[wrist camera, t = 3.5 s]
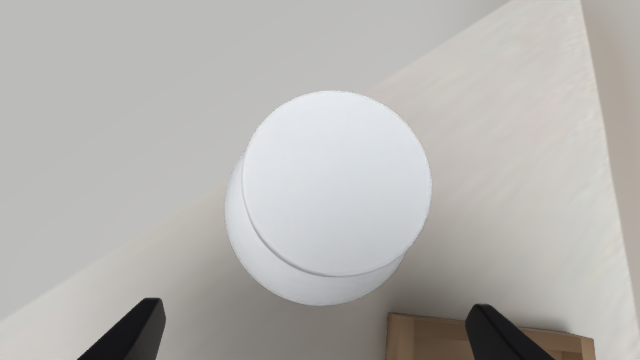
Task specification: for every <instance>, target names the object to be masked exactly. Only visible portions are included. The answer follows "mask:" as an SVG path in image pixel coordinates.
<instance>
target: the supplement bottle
mask: <svg viewBox="0 0 640 360" xmlns="http://www.w3.org/2000/svg"><path fill="white" fill-rule="evenodd" d="M431 194H432V181H431V172H430V167H429V163H428V160H427V157H426V154H425V151H424V149H423V147H422V145H421V143H420V141H419V140H418V138H417V137H416V135H415V134H414V132H413V131H412V130H411V128H410V127H409V126H408V125H407V124H406V123H405V121H404V120H403V119H402V118H401V117H399V116H398V115H397V114H396V113H395V112H393V111H392V110H391V109H389V108H388V107H386V106H385V105H383V104H381V103H380V102H378V101H376V100H374V99H371V98H369V97H366V96H364V95H360V94H357V93H352V92H345V91H319V92H313V93H308V94H305V95H302V96H299V97H297V98H294V99H292V100H290V101H288V102H286V103H284V104H283V105H281V106H280V107H278V108H277V109H276V110H274V111H273V112H272V113H271V114H270V115H269V116H268V117H267V118H266V119H265V120H264V121H263V122H262V123H261V124H260V126H259V127H258V128H257V130H256V131H255V133H254V135H253V137H252V138H251V140H250V143H249V145H248V147H247V149H246V150H245V151H244V153H243V154H242V155H241V157H240V158H239V160H238V161H237V163H236V165H235V167H234V169H233V171H232V173H231V176H230V178H229V181H228V184H227V188H226V195H225V204H224V213H225V223H226V229H227V233H228V237H229V240H230V243H231V245H232V248H233V250H234V252H235V254H236V256H237V257H238V259H239V261H240V262H241V264H242V265H243V266H244V268H245V269H246V270H247V271H248V273H249V274H250V275H251V276H252V277H253V278H254V279H255V280H256V281H257V282H258V283H259V284H261V285H262V286H263V287H265V288H266V289H268V290H269V291H271V292H272V293H274V294H276V295H278V296H280V297H282V298H284V299H287V300H290V301H293V302H296V303H300V304H305V305H312V306H327V305H337V304H342V303H346V302H350V301H353V300H355V299H358V298H360V297H362V296H364V295H366V294H368V293H370V292H371V291H373V290H375V289H376V288H377V287H379V286H380V285H381V284H382V283H384V282H385V281H386V280H387V279H388V278H389V277H390V276H391V275H392V274H393V273H394V271H395V270H396V269H397V267H398V266H399V264H400V263H401V261H402V259H403V257H404V255H405V253H406V251H407V249H408V248H409V247H410V246H411V245H412V244H413V243H414V241H415V240H416V239H417V237H418V236H419V234H420V232H421V230H422V228H423V226H424V224H425V221H426V219H427V216H428V212H429V208H430V203H431Z"/></svg>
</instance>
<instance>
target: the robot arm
mask: <svg viewBox="0 0 640 360" xmlns="http://www.w3.org/2000/svg"><path fill="white" fill-rule="evenodd" d="M165 322H166V316H165V311H164V307H163V302H162V300H161V299H160V298H145V299H143V300H142V301H140V302H139V303H138V304H137V305H136V306H135V307H134V308H133V309H132V310H131V311H129V312H128V313H127V314H126V315H125V316H124V317H123V318H122V319H121V320H120V321H119V322H117V323H116V324H115V325H114V326H113V327H112V328H111V329H110V330H109V331H108V332H107V333H105V334H104V335H103V336H102V337H101V338H100V339H99V340H98V341H97V342H96V343H95V344H93V345H92V346H91V347H90V348H89V349H88V350H87V351H86V352H85V353H84V354H83V355H81V356H80V357H79V358H78V359H77V360H156V356H157V353H158V349H159V345H160V342H161V338H162V335H163V331H164V327H165ZM465 329H466V332H467V336H468V339H469V342H470V346H471V349H472V352H473V356H474V359H475V360H556V359H554V358H553V357H552V356H551V355H550V354H548V353H547V352H546V351H545V350H544V349H542V348H541V347H540V346H539V345H538V344H536V343H535V342H534V341H533V340H532V339H531V338H529V337H528V336H527V335H526V334H525V333H523V332H522V331H521V330H520V329H519V328H517V327H516V326H515V325H514V324H513V323H511V322H510V321H509V320H508V319H507V318H505V317H504V316H503V315H502V314H501V313H499V312H498V311H497V310H496V309H495V308H493V307H492V306H491V305H489V304H475V305H473V307H472V309H471V311H470V312H469V314H468V316H467V318H466V320H465Z"/></svg>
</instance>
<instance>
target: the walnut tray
mask: <svg viewBox="0 0 640 360" xmlns="http://www.w3.org/2000/svg"><path fill="white" fill-rule="evenodd" d="M517 328H519V329H520V330H521V331H522V332H523V333H525V334H526V335H527V336H528V337H529V338H531V339H532V340H533V341H534V342H535V343H536V344H538V345H539V346H540V347H541V348H542V349H544V350H545V351H546V352H547V353H548V354H550V355H551V356H552V357H553V358H554V359H556V360H596V358H595V349H594V340H593V339H591V338H587V337H583V336H579V335H574V334H570V333H566V332H560V331H551V330H542V329H533V328H524V327H517ZM386 360H475V359H474V356H473V352H472V349H471V346H470V342H469V339H468V336H467V332H466V329H465V321H460V320H451V319H442V318H433V317H424V316H415V315H406V314H396V313H388V324H387V343H386Z"/></svg>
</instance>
